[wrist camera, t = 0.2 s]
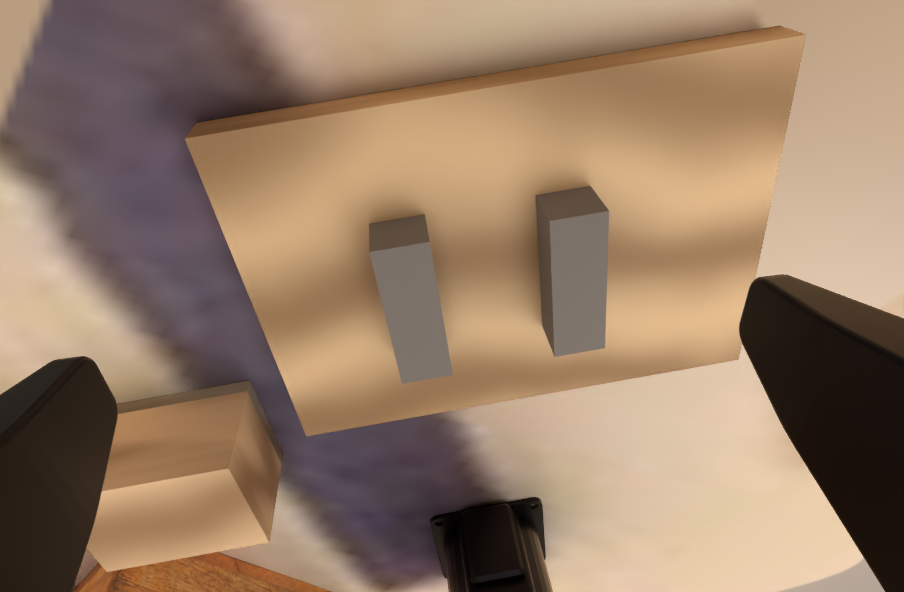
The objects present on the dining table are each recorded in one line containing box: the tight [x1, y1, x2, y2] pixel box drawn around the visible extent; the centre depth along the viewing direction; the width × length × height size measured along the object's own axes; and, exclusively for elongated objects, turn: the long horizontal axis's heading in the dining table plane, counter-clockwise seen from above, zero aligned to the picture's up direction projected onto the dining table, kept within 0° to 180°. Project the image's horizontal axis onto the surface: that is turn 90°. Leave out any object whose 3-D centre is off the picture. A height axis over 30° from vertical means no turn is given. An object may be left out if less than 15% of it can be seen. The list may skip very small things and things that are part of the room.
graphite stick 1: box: [369, 214, 453, 384], centre depth 22 cm, size 6×2×2 cm, turn 7°
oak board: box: [185, 26, 806, 436], centre depth 23 cm, size 14×20×2 cm
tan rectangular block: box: [86, 381, 283, 572], centre depth 26 cm, size 5×7×5 cm
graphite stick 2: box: [536, 186, 609, 357], centre depth 22 cm, size 6×2×2 cm, turn 7°
